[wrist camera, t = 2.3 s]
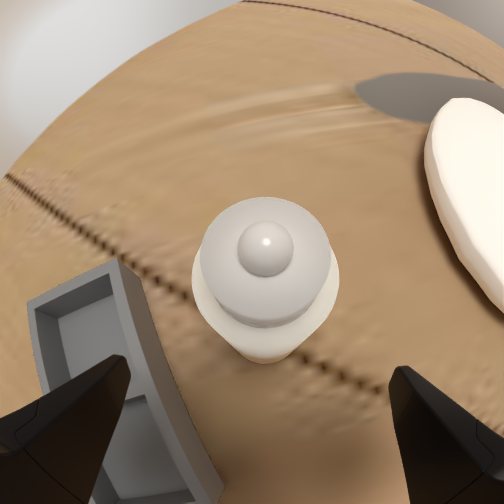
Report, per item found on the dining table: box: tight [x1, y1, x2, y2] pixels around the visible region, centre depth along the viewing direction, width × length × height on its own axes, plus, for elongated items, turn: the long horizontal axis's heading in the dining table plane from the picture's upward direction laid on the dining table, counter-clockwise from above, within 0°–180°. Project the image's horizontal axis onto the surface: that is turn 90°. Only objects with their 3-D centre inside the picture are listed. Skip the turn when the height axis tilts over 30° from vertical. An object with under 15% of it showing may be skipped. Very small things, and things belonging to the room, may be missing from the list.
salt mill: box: [192, 197, 339, 364], centre depth 13 cm, size 5×5×14 cm
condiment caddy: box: [27, 258, 225, 504], centre depth 15 cm, size 16×9×4 cm, turn 24°
